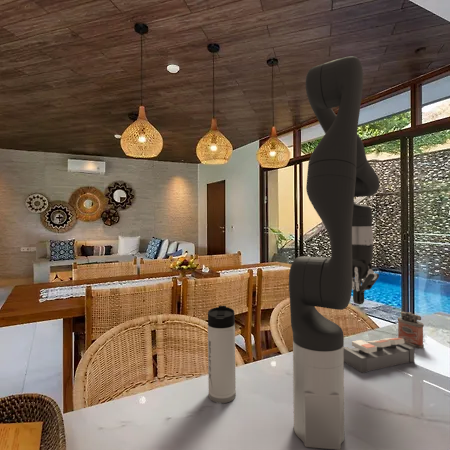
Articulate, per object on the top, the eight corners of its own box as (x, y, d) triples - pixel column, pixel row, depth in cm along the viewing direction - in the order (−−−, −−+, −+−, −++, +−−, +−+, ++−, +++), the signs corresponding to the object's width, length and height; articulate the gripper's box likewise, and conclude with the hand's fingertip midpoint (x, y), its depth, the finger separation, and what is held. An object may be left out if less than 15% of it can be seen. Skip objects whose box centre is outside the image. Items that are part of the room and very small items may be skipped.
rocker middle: (375, 344, 90) (374, 339, 91) (391, 345, 85) (389, 340, 86) (366, 346, 89) (365, 341, 89) (381, 347, 84) (380, 342, 84)
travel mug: (236, 388, 74) (235, 305, 74) (234, 404, 68) (233, 313, 67) (210, 387, 75) (209, 305, 75) (206, 403, 68) (205, 313, 68)
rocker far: (389, 342, 92) (387, 337, 92) (404, 343, 87) (403, 338, 87) (380, 343, 91) (379, 339, 91) (395, 344, 86) (394, 339, 86)
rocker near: (361, 343, 89) (361, 339, 89) (376, 351, 84) (376, 346, 84) (351, 345, 88) (351, 340, 88) (366, 353, 82) (366, 348, 82)
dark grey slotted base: (392, 351, 94) (391, 338, 94) (414, 361, 87) (414, 347, 87) (342, 360, 88) (342, 346, 88) (362, 372, 81) (361, 357, 81)
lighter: (395, 340, 102) (395, 310, 102) (402, 338, 104) (401, 309, 103) (419, 349, 95) (419, 317, 95) (426, 347, 96) (426, 315, 96)
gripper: (332, 241, 92) (332, 299, 92) (365, 244, 80) (365, 311, 80) (352, 240, 95) (352, 297, 95) (387, 243, 82) (388, 308, 82)
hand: (358, 303), depth 87 cm, fingers closed
